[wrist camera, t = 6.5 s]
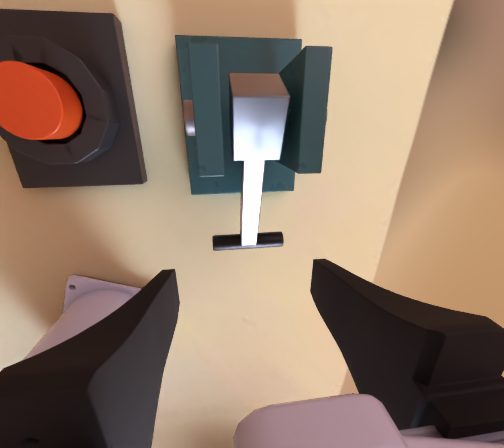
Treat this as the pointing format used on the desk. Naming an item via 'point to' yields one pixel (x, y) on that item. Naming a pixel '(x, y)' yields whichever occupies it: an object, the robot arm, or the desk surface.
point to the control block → (89, 92)
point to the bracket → (217, 107)
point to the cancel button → (37, 103)
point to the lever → (254, 149)
